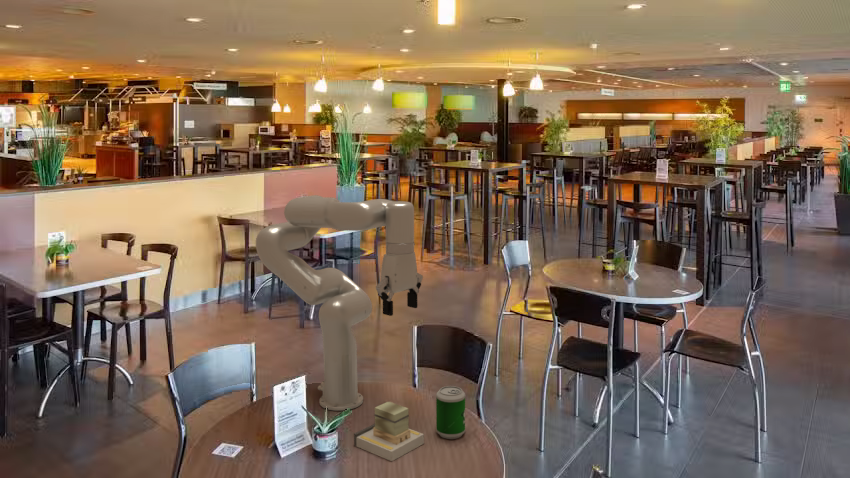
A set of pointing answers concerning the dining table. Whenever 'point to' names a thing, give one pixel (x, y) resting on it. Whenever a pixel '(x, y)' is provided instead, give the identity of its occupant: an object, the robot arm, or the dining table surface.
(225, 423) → the dining table surface
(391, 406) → the pallet
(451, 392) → the soda can
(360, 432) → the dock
